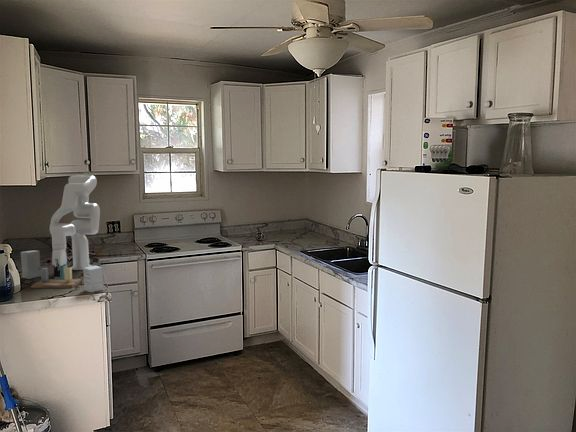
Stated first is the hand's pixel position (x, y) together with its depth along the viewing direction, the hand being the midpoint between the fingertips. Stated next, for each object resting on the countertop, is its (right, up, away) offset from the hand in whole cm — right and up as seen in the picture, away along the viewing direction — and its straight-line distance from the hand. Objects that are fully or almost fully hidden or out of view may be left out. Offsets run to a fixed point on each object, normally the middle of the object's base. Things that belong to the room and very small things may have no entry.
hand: (60, 274), depth 280 cm
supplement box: (+29, -6, -24) cm, 38 cm away
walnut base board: (+4, -4, -13) cm, 14 cm away
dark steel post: (-2, -2, -14) cm, 14 cm away
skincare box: (-19, -2, +4) cm, 20 cm away
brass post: (+11, -2, -13) cm, 17 cm away
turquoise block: (0, -2, +1) cm, 2 cm away
